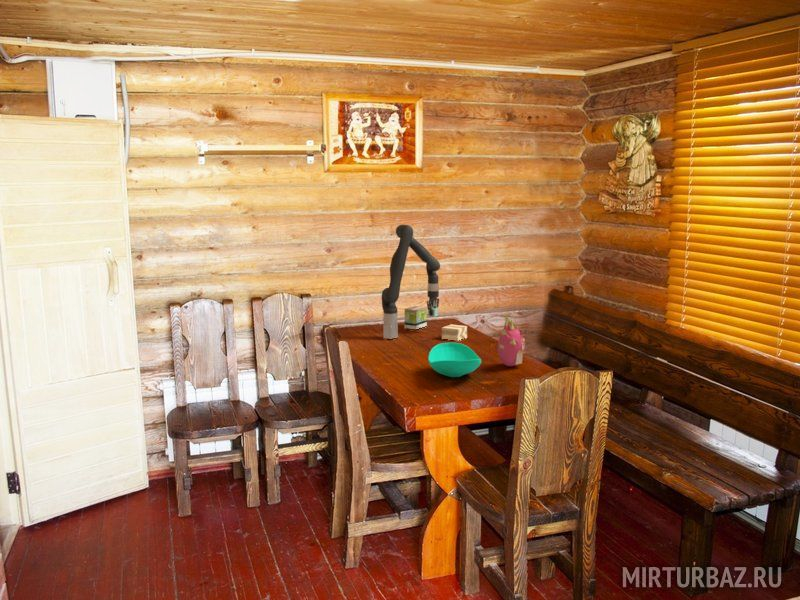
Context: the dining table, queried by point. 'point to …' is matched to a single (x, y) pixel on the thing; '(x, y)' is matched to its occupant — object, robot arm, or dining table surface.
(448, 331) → the birch block
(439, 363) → the table top decor
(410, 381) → the dining table surface
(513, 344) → the pink dragon fruit
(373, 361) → the dining table surface
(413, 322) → the tea box
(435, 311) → the teal cube
